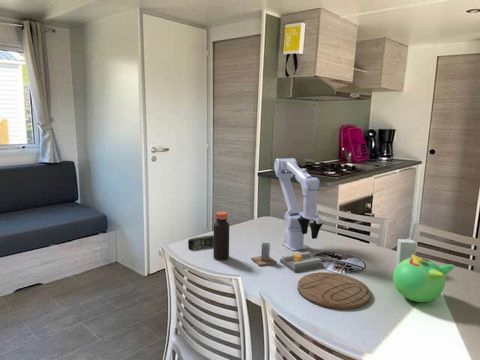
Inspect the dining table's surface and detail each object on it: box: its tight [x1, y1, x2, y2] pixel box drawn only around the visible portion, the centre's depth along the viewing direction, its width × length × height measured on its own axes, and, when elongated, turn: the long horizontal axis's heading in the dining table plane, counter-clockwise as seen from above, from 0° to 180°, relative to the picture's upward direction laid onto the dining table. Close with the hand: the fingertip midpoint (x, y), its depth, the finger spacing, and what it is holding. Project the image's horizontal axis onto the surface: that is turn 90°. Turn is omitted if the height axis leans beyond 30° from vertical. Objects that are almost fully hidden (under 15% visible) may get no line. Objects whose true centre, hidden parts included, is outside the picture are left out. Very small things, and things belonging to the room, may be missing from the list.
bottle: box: [213, 211, 230, 261], centre depth 158 cm, size 7×7×20 cm
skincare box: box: [395, 238, 417, 268], centre depth 150 cm, size 6×4×12 cm
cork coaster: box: [250, 255, 278, 267], centre depth 156 cm, size 8×8×1 cm
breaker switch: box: [294, 253, 302, 262], centre depth 152 cm, size 2×3×2 cm, turn 25°
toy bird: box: [392, 254, 455, 303], centre depth 125 cm, size 18×17×15 cm
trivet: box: [297, 271, 371, 311], centre depth 130 cm, size 25×25×2 cm
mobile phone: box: [187, 234, 214, 250], centre depth 172 cm, size 5×3×15 cm
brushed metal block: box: [261, 242, 271, 261], centre depth 155 cm, size 3×3×7 cm
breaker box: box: [279, 251, 324, 273], centre depth 153 cm, size 14×11×3 cm
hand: (309, 236), depth 160 cm, fingers open, 7 cm apart
